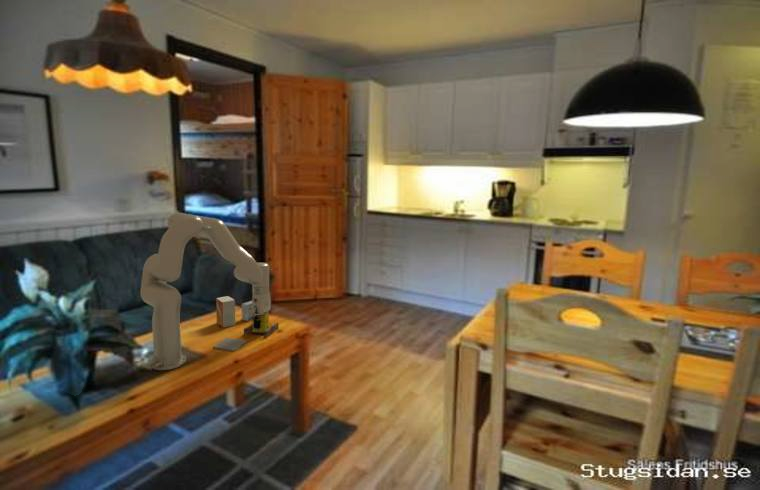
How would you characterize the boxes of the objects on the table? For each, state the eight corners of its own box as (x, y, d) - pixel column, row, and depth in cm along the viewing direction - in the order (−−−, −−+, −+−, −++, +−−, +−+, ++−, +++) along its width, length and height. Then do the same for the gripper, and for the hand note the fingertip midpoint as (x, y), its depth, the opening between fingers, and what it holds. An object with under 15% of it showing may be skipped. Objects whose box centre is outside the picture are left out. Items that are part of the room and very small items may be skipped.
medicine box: (247, 321, 209) (247, 305, 207) (241, 319, 211) (241, 303, 209) (259, 317, 216) (259, 301, 214) (253, 315, 218) (253, 299, 216)
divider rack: (266, 337, 190) (266, 331, 189) (243, 334, 192) (243, 328, 192) (278, 328, 201) (278, 322, 201) (257, 325, 204) (257, 319, 203)
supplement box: (265, 334, 194) (265, 312, 192) (252, 333, 194) (252, 311, 192) (269, 329, 200) (269, 307, 198) (256, 329, 200) (256, 307, 198)
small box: (216, 323, 205) (215, 297, 203) (228, 320, 209) (228, 295, 207) (223, 328, 199) (222, 302, 197) (235, 325, 204) (235, 299, 201)
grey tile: (234, 351, 175) (234, 349, 175) (213, 348, 177) (213, 346, 177) (246, 342, 184) (246, 340, 184) (226, 339, 187) (226, 337, 186)
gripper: (258, 295, 184) (258, 333, 187) (276, 285, 200) (276, 320, 204) (243, 293, 185) (244, 331, 189) (262, 283, 202) (263, 318, 205)
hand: (261, 325), depth 196 cm, fingers closed on supplement box, 6 cm apart
